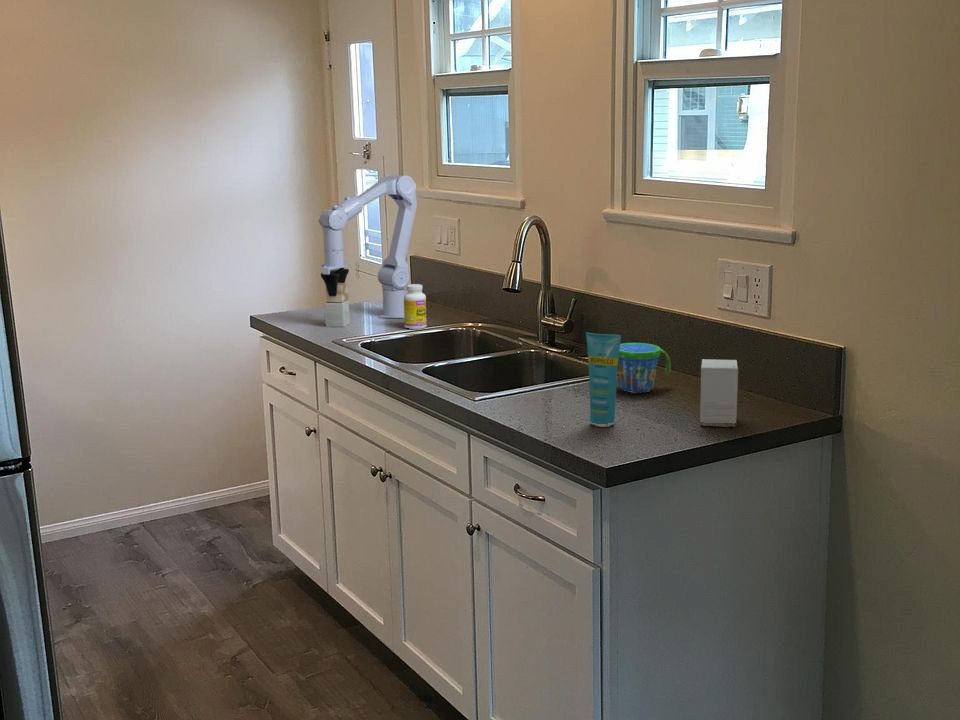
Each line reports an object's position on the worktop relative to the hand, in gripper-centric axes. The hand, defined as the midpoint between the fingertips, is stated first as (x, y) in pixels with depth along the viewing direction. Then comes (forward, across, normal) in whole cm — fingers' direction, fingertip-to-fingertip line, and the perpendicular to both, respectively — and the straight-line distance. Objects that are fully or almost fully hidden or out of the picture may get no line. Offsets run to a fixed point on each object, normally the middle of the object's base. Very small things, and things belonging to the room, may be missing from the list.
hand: (336, 294), depth 318 cm
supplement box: (+10, +81, +116) cm, 142 cm away
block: (+2, 0, 0) cm, 2 cm away
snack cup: (+10, +59, +97) cm, 114 cm away
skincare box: (+10, 0, 0) cm, 10 cm away
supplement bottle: (+10, 0, +25) cm, 27 cm away
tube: (+10, +87, +93) cm, 128 cm away
